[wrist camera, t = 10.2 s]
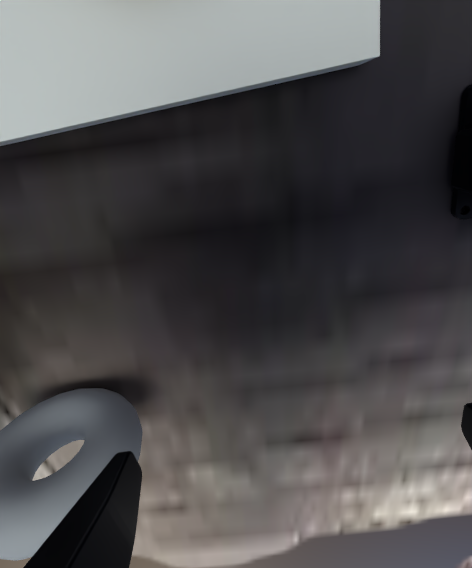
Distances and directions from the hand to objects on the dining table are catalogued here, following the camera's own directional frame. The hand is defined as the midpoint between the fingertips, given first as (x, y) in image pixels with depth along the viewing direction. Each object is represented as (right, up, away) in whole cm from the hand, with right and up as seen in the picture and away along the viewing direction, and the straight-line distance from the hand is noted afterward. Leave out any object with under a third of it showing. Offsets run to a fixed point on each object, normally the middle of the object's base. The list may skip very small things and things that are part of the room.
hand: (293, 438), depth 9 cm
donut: (-12, -4, +16) cm, 20 cm away
